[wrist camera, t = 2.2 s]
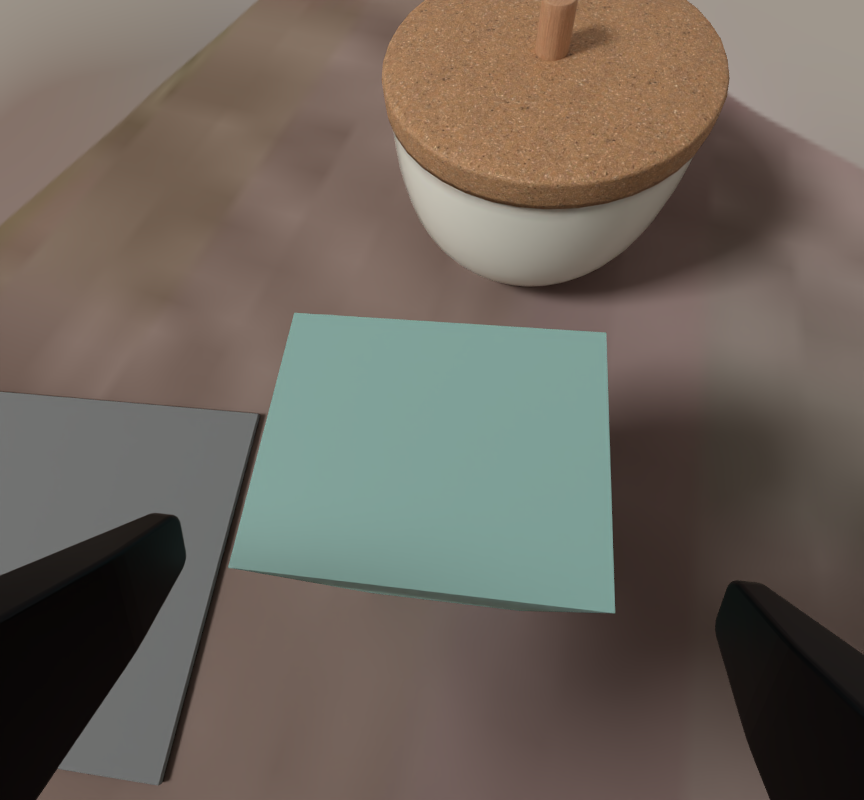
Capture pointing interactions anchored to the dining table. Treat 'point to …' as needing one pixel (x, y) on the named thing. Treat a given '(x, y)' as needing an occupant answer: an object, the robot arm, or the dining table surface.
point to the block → (437, 464)
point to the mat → (112, 507)
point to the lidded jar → (548, 125)
